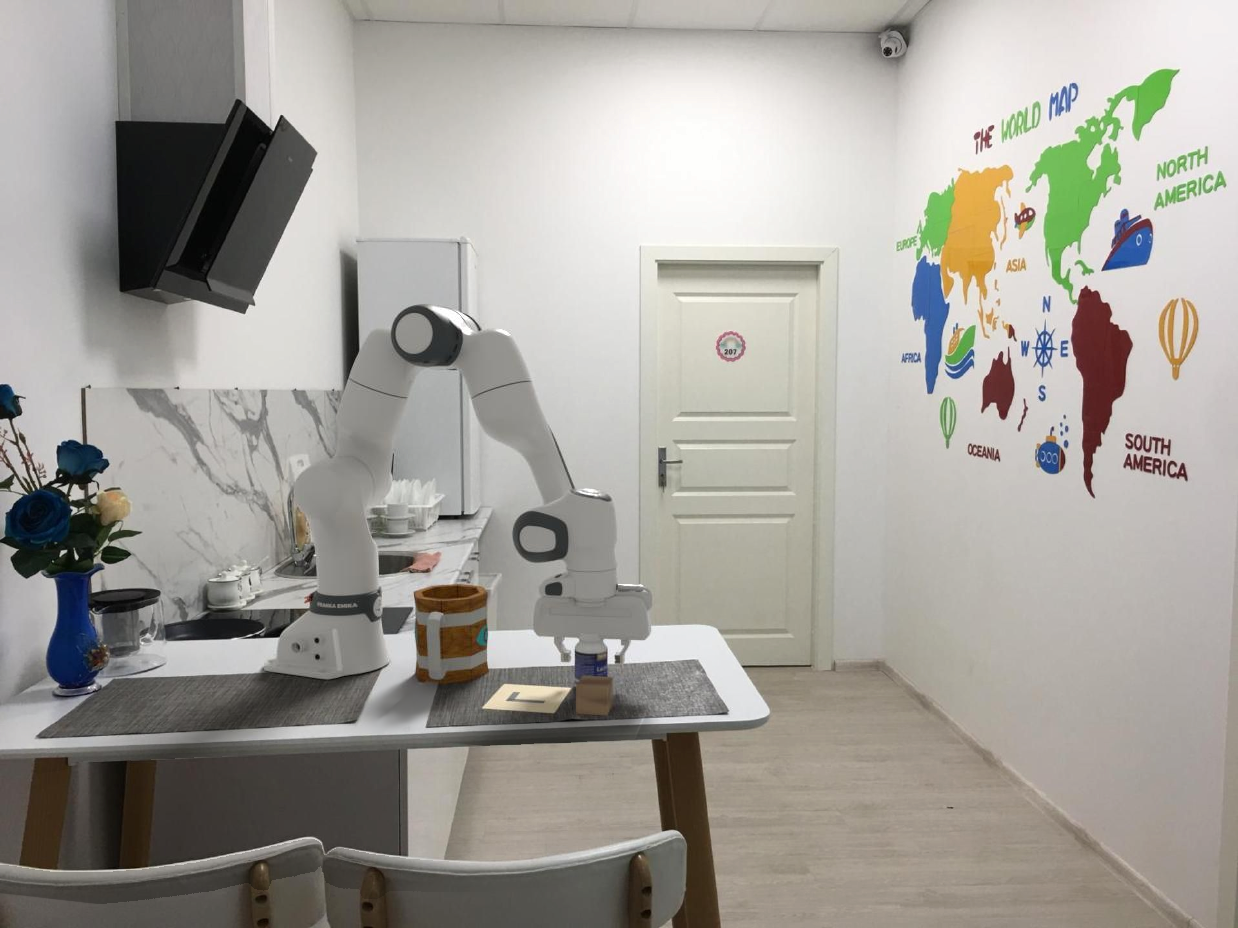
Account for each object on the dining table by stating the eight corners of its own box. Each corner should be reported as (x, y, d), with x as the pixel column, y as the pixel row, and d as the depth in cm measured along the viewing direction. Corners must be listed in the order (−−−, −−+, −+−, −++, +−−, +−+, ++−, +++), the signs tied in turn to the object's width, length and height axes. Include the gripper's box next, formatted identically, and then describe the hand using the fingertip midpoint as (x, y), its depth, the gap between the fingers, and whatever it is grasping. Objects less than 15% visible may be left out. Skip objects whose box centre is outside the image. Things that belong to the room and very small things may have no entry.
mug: (425, 661, 171) (423, 583, 169) (496, 662, 170) (495, 584, 169) (393, 697, 151) (391, 609, 150) (473, 698, 150) (472, 610, 149)
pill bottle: (603, 694, 153) (603, 636, 152) (570, 691, 154) (570, 634, 153) (610, 683, 158) (610, 627, 157) (579, 680, 159) (578, 625, 159)
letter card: (481, 710, 145) (481, 708, 145) (504, 685, 157) (504, 683, 157) (554, 715, 143) (554, 712, 143) (571, 689, 155) (571, 687, 155)
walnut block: (582, 705, 148) (582, 675, 147) (613, 707, 147) (613, 677, 146) (576, 716, 143) (575, 685, 142) (607, 718, 142) (607, 687, 141)
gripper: (654, 581, 156) (655, 659, 157) (539, 577, 159) (540, 654, 161) (649, 589, 150) (650, 670, 151) (529, 585, 153) (531, 665, 154)
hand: (592, 662), depth 156 cm, fingers open, 8 cm apart
